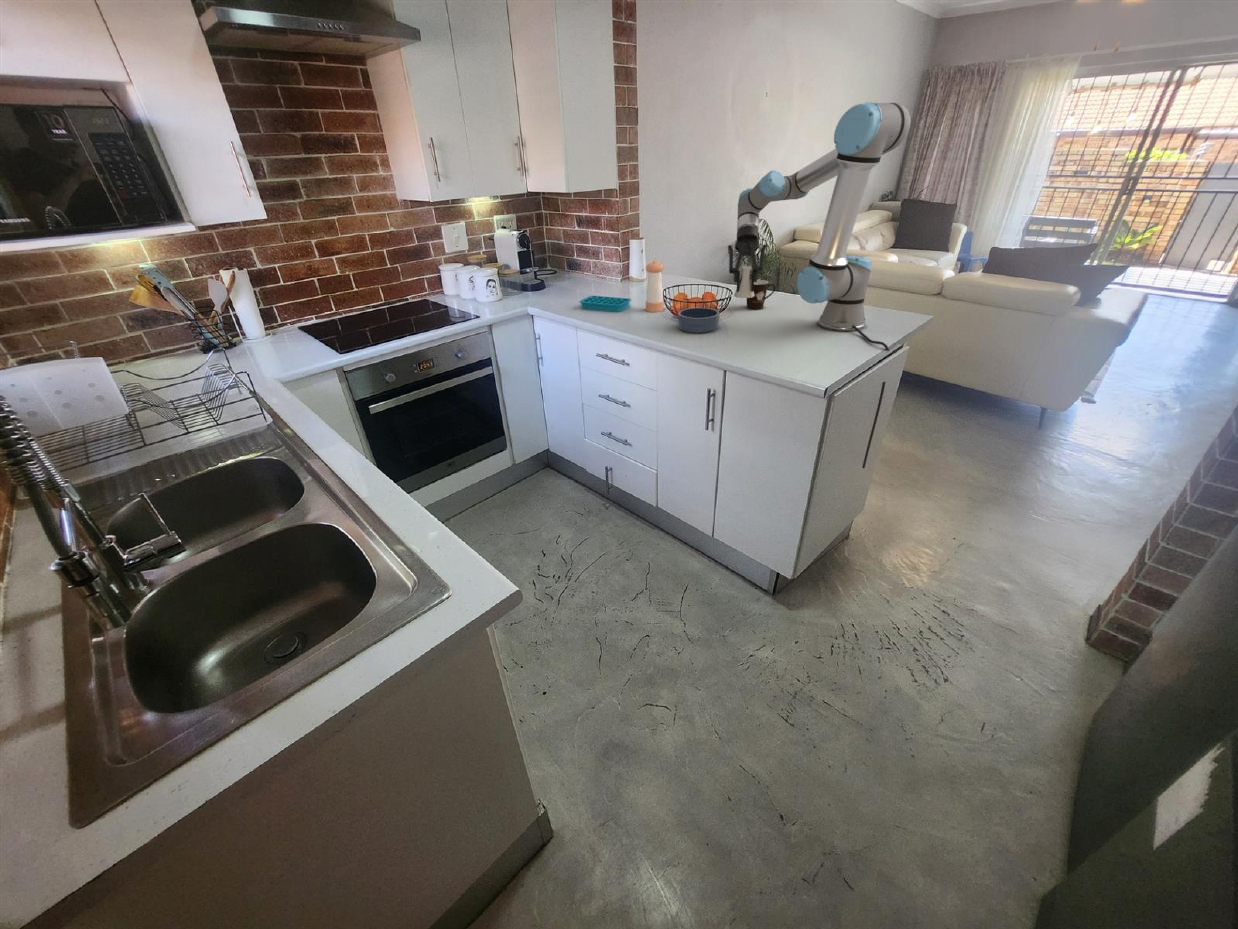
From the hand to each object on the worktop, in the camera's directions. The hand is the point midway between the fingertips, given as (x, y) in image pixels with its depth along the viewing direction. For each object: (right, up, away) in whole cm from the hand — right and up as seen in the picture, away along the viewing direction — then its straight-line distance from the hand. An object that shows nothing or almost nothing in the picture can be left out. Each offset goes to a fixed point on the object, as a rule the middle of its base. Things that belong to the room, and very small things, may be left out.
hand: (745, 289), depth 176 cm
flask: (+1, -1, +5) cm, 5 cm away
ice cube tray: (-50, +6, +40) cm, 64 cm away
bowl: (-15, -11, +9) cm, 21 cm away
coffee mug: (+13, +2, +29) cm, 32 cm away
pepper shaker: (-29, +3, +33) cm, 44 cm away
